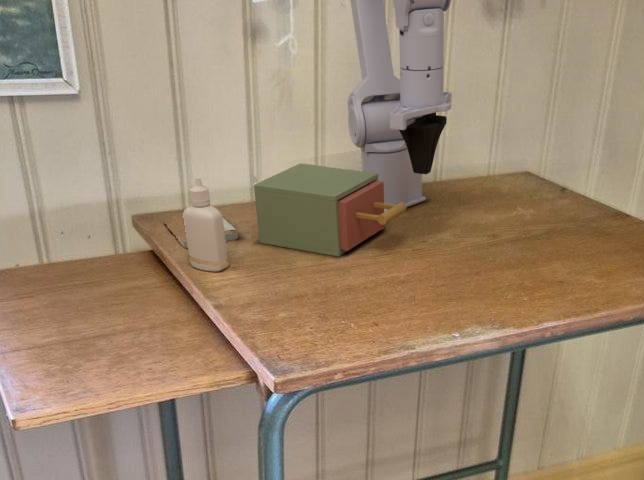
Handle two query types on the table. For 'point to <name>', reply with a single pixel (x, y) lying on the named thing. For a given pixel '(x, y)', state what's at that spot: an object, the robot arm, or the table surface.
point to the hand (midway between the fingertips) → (422, 172)
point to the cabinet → (306, 206)
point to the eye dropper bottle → (204, 230)
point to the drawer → (364, 214)
